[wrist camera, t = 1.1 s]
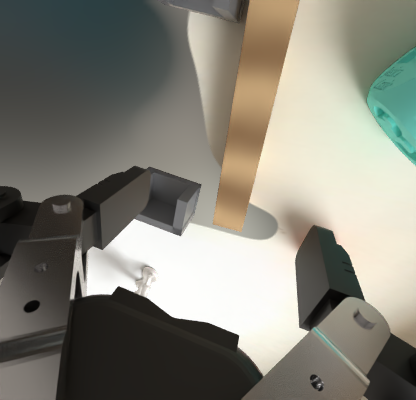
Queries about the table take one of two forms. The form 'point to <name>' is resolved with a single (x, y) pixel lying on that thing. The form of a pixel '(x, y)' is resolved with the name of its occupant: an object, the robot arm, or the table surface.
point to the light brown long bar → (252, 104)
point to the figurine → (146, 281)
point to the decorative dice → (397, 103)
